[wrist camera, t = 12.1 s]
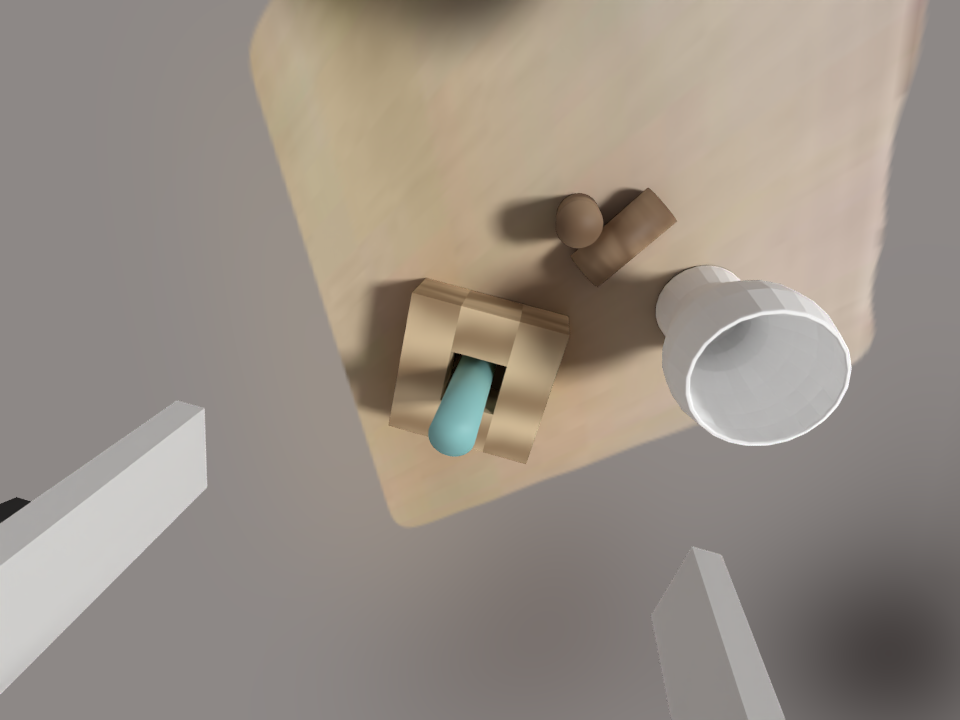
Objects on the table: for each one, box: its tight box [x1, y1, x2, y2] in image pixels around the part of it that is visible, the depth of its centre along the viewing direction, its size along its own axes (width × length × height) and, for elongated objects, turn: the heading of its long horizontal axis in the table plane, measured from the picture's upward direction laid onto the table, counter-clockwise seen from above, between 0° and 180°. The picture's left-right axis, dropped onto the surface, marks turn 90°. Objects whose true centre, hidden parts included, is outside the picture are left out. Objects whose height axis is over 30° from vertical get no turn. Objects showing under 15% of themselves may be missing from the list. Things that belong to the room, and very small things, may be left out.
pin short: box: [556, 193, 603, 248], centre depth 40 cm, size 4×4×5 cm
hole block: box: [388, 278, 570, 464], centre depth 47 cm, size 14×14×5 cm
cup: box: [656, 265, 852, 446], centre depth 37 cm, size 11×11×15 cm
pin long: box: [428, 355, 497, 456], centre depth 42 cm, size 4×4×14 cm
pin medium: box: [571, 188, 677, 287], centre depth 41 cm, size 4×4×8 cm
